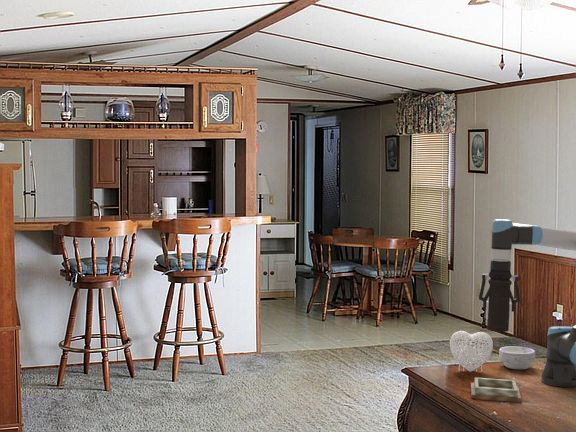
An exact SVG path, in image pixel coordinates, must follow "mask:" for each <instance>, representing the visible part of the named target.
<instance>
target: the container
mask: <svg viewBox="0 0 576 432" xmlns="http://www.w3.org/2000/svg"><path fill="white" fill-rule="evenodd" d="M487 281H488V284H489V287H490V295H489V297H488V302H489V304H488V319H486V320H487V321H486V323H487V324H486V326H487V327H486V330H487V331H490V332H495V333H496V332H497V333H506V332H509V330H510V329H509V328H510V321H509V304H510V303H511V299H510V290H511V285H512V284H513V280H511V279H510V280H503V279H498V280H494V279H491V278H489V279H488V280H487Z"/></svg>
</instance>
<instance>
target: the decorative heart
mask: <svg viewBox="0 0 576 432" xmlns="http://www.w3.org/2000/svg"><path fill="white" fill-rule="evenodd" d="M449 339H450V340H449V349H450V352H451V354H452V356H453V357H454V360H456V363H458V372H460V371H461V366H462V372H465V370H467V371H468V372H469V373H471V372H473V371H474V370H475V372H478V368H480V373H483V365H484V363H486V361H488V359H489V358H490V357H491V354H492V352H493V348H494V342H493V339H492V337H491V336H490V334H488V333H487V332H483V331H478V332H474V333H469V332H467V331H464V330H458V331H456V332H454V333H452V334H451V337H450V338H449Z"/></svg>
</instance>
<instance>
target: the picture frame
mask: <svg viewBox="0 0 576 432" xmlns="http://www.w3.org/2000/svg"><path fill="white" fill-rule="evenodd" d="M470 391H471V392H470V394H471V395H470V396H471V398H474V399H475V400H484V401H498V402H510V403H511V402H513V403H522V397H521V393H520V389H519V386H518V385H517V383H516V380H512V379H500V378H499V379H498V378H489V377H488V378H487V377H486V378H485V377H474V382H470ZM474 399H473V400H474Z"/></svg>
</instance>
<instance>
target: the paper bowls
mask: <svg viewBox="0 0 576 432" xmlns="http://www.w3.org/2000/svg"><path fill="white" fill-rule="evenodd" d="M498 351H499V352H498V359H499V361H500V362H502V363H503V366H505V368H507V369H511V370H526V369H529V368H530V367H531V364H533V363H535V361H536V351H535V350H534V349H533V348H529V347H525V346H517V345H515V346H514V345H513V346H512V345H510V346H502V347H500V348H499V350H498Z"/></svg>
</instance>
